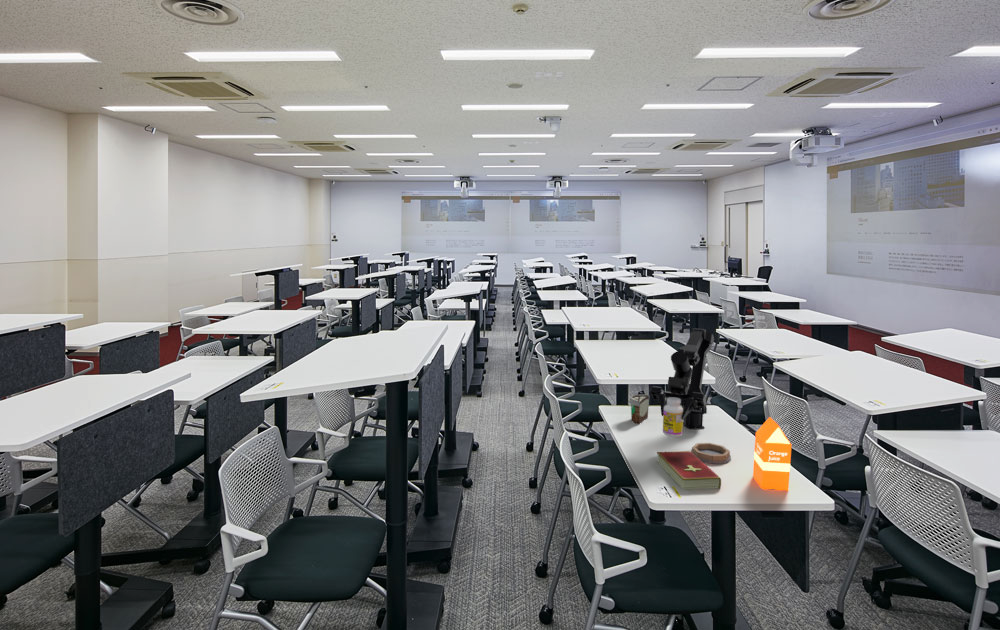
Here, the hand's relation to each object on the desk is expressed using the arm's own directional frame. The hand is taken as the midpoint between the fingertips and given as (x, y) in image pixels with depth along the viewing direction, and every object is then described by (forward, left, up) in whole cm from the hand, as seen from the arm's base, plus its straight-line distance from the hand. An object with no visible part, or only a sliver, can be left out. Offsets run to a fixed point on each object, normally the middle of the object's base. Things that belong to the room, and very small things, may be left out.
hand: (672, 417), depth 186 cm
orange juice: (-21, +26, -13) cm, 36 cm away
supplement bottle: (-1, -1, -7) cm, 7 cm away
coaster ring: (-13, +4, -13) cm, 19 cm away
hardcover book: (+2, +17, -14) cm, 22 cm away
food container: (-1, -36, -13) cm, 39 cm away
